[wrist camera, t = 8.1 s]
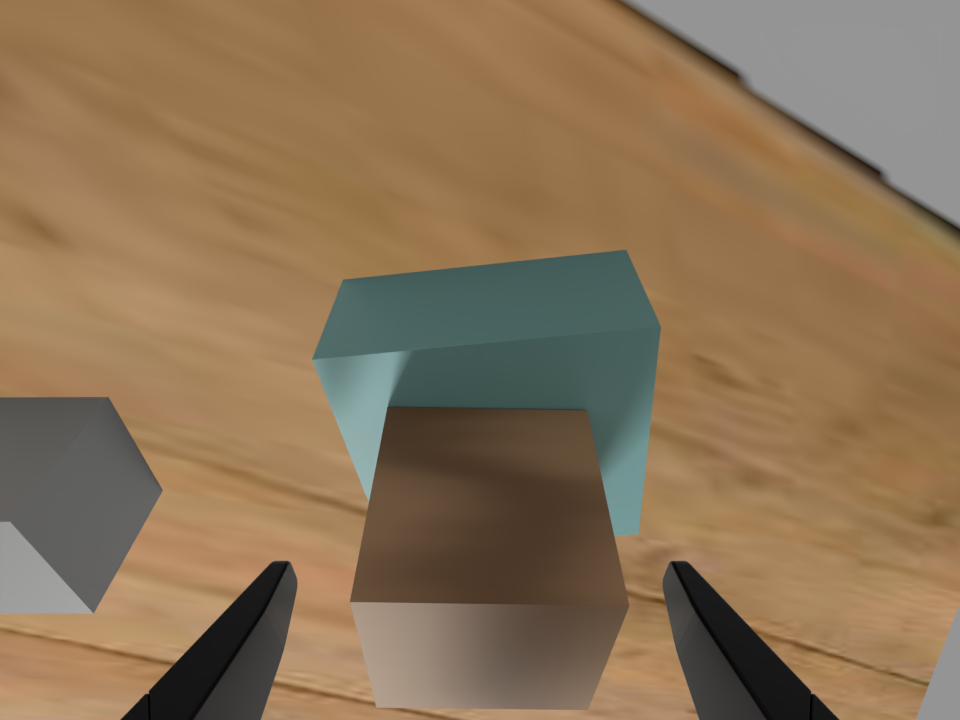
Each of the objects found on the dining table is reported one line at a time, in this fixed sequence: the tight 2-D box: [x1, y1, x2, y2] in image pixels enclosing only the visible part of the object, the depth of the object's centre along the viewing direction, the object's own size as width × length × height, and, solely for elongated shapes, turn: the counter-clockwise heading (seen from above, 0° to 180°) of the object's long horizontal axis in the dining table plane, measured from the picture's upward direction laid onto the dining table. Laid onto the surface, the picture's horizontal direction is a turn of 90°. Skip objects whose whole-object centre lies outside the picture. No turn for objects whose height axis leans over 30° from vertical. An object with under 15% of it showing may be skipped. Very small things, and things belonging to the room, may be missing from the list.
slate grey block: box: [0, 397, 163, 614], centre depth 18 cm, size 5×5×5 cm
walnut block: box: [350, 407, 629, 710], centre depth 13 cm, size 5×5×5 cm
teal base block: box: [312, 250, 661, 536], centre depth 16 cm, size 8×8×4 cm
